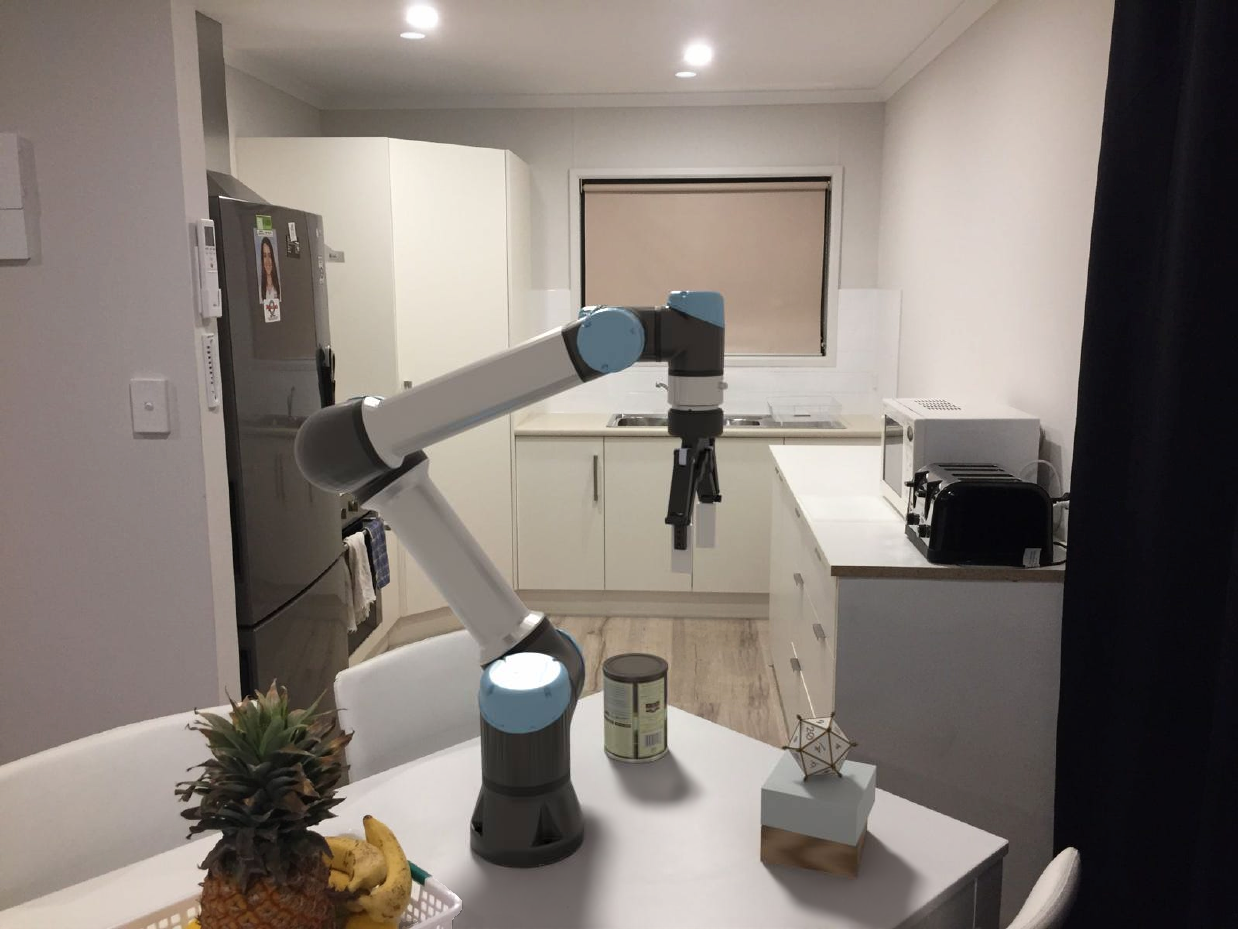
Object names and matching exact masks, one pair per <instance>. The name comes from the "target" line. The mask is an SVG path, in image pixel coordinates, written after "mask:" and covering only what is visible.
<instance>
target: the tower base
mask: <svg viewBox="0 0 1238 929" xmlns="http://www.w3.org/2000/svg"><path fill="white" fill-rule="evenodd" d="M868 820H869V818H868V819H867V821H866V823H865V826H864V828H863V830H862V833H861V835H860V837H859V840H858V842H857V844H856V846H852V845H848V844H843V843H839V842H835V841H830V840H826V839H821V838H817V837H813V836H808V835H804V834H799V833H795V832H791V831H786V830H782V829H777V828H773V827H769V826H764V825H761V824H760V855H759V860H760V862H761V861H762V862H767V863H771V864H772V863H773V864H776V865H783V866H786V867H794V868H799V869H803V870H809V871H815V872H819V873H825V874H830V875H834V876H835V875H836V876H842V877H844V878H845V877H846V878H852V879H858V874H859V869H860V864H861V859H862V855H863V851H864V847H865V841H866V837H867V832H868Z"/></svg>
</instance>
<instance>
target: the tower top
mask: <svg viewBox="0 0 1238 929" xmlns="http://www.w3.org/2000/svg"><path fill="white" fill-rule="evenodd" d="M839 772H840V773H841V774H842V778H840V777H839V776H838V774H827V775H818V776H808V779H807V781H806V782H804V780H803V779H804V777H805V774H804V772H803V771H802V769H801V768H800V766H799V765H798V763H797V762H796V760H795V759H794V757H793V755H792V754H791V752H790V751H789V749H785V752H784V753H783V754H782V756H781V758H780V759H779V761H778V762H777V764H776V765H775V766H774V768H773V770H772V771H771V773H770V774H769V776H768V777H767V779H766V780H765V782H764V783H763V784H762V786H761V789H760V791H761V792H760V826H761V825H764V826H769V827H773V828H777V829H782V830H786V831H791V832H795V833H799V834H804V835H808V836H813V837H817V838H821V839H826V840H830V841H835V842H839V843H843V844H848V845H852V846H856V844H857V842H858V840H859V837H860V835H861V833H862V830H863V828H864V826H865V823H866V821H867V819H868V820H869V816H870V814H871V811H872V809H873V807H874V804H875V802H876V787H877V786H876V784H877V765H875V764H869V763H863V762H859V761H858V762H857V761H853V760H848V759H845V761H844V763H843V765H842V767H841V769H840V771H839Z"/></svg>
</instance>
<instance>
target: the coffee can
mask: <svg viewBox="0 0 1238 929" xmlns="http://www.w3.org/2000/svg"><path fill="white" fill-rule="evenodd" d="M601 666H602V667H601V669H602V675H603V677H602V681H603V682H602V683H603V691H602V692H603V736H604V738H603V739H604V741H603V742H604V744H603V751H604V753H605V754H606V755H607V757H609V758H611V759H613V760H615V761H618V762H621V763H622V762H623V763H628V764H645V763H649V762H654V761H657V760H659V759H661V758H663V757H664V756H665V755H666V754H667V753H668V750H669V746H668V732H669V731H668V670H669V663H668V661H667V660H666V659H665V658H662V657H660V656H658V655H654V654H651V653H643V652H641V653H640V652H635V653H634V652H631V653H629V652H627V653H621V654H617V655H613V656H611V657H609V658H607V659H605V660H604V661H603V662H602V664H601Z"/></svg>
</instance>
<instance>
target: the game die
mask: <svg viewBox="0 0 1238 929" xmlns="http://www.w3.org/2000/svg"><path fill="white" fill-rule="evenodd" d="M835 716H836V710H833V711H831V713H830V716H822V717H821V716H820V717H810V718H809V717H808V718H802V716H801V715H800V714H798V713H796V719H797V720H799V722H798V724H797V726H796V728H795V730H794V733H793V734H792V736H791V739H790V741H789V743H788V745H783V746H781V747H780V748H781V749H782V750H783V751H786V750H787V749H789V751H790V752H791V754H792V755H793V757H794V759H795V760H796V762H797V763H798V765H799V766H800V768H801V769H802V771H803V772H804V774H805V777H804V779H803V780H804V782H806V781H807V779H808V776H818V775H827V774H838V776H839V777H840V778H842V774H841V773H840V772H839V771H840V769H841V767H842V765H843V763H844V761H845V760H847V757H848V755H849V753H850V751H851V748H853V747H855V748H857V747H858V746H859V743H858V742H856V741H855V742H851V741H850V739H849V738H848V736H847V735H846V734H845V733H844V730H842V728H841V727H840V725H839V724H838V723H837V721H836V720H835V718H834V717H835Z"/></svg>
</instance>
